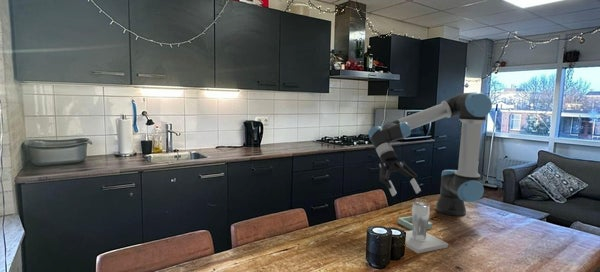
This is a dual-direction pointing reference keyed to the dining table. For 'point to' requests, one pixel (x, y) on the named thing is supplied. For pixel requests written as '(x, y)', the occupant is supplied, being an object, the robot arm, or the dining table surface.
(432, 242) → the tile board
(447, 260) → the dining table surface
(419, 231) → the beer glass
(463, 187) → the robot arm
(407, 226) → the green square frame
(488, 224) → the dining table surface
